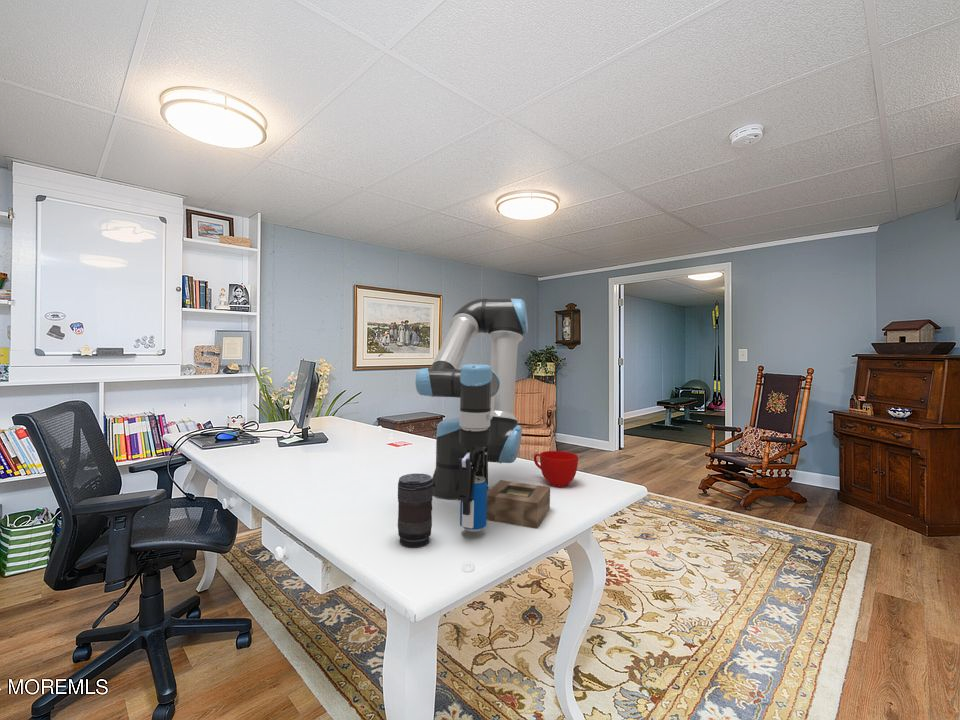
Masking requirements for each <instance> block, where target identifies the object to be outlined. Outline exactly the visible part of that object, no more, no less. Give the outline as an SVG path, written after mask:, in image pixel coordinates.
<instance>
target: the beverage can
mask: <svg viewBox="0 0 960 720" xmlns="http://www.w3.org/2000/svg"><path fill="white" fill-rule="evenodd" d="M477 478H478V479H480V480H478V479H477ZM485 480H486V479H485V478H484V477H482V476H475V483H474V490H473V497H472V500H474V525H473V528H467V527H462V501H461V500H459V501H460V508H459V509H460V510H459V524H460V527H461V528H463V529H464V530H465V531H467V532H471V533H472V532H474V533H475V532H479V531H482V530H483V529H484V528H486V526H487V521H488V520H487V487H488V485H487V482H486V481H485Z"/></svg>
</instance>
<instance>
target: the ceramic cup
mask: <svg viewBox="0 0 960 720" xmlns="http://www.w3.org/2000/svg"><path fill="white" fill-rule="evenodd" d="M537 457H539V462H538V460H537ZM533 462H534V464H535V466H536V467H537V468H538V469H540V471H541V473H542V477H543V478H544V479H545V481H546V482H547V483H548V485H549V486H552V487H555V488H556V487H558V488H559V487H560V488H565V487H568V486H569V484H570V483H571V482H572V481H573V480H574V478H575V477H576V474H577V471H578V465H579V455H577V454H576V453H573V452H569V451H561V450H548V451H547V450H546V451H542V452H540V453H536V454H534V455H533ZM539 463H540V464H539Z"/></svg>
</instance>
